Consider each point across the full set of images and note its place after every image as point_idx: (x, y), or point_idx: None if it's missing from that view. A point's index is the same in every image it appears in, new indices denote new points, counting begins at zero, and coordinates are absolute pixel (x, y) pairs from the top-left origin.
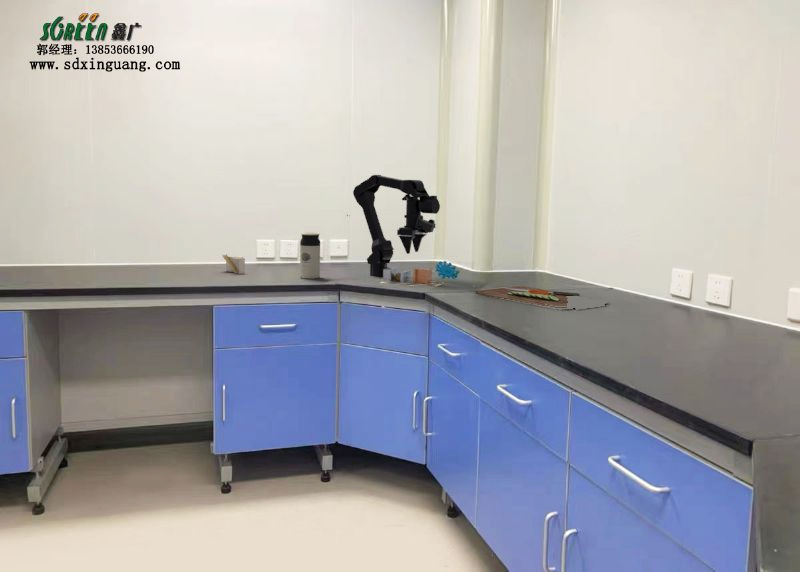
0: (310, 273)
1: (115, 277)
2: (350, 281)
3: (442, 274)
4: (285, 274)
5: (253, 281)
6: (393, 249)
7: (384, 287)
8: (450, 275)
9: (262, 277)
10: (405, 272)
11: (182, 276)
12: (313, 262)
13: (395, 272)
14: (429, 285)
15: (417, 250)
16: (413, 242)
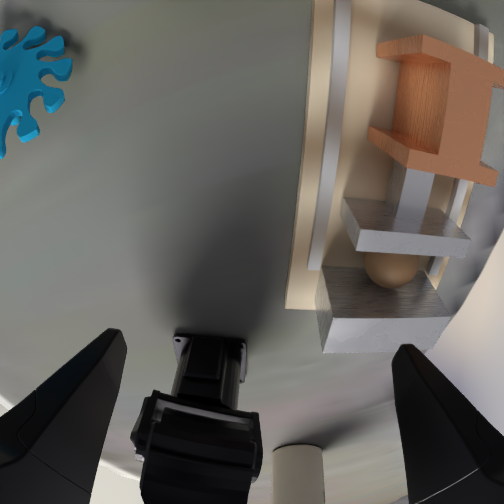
0: (321, 458)
1: (377, 498)
2: (329, 395)
3: (42, 85)
4: (271, 472)
5: (384, 463)
6: (152, 450)
7: (453, 269)
8: (26, 50)
9: (330, 474)
10: (445, 235)
11: (353, 493)
12: (319, 482)
13: (378, 301)
14: (486, 54)
15: (115, 341)
16: (97, 450)
